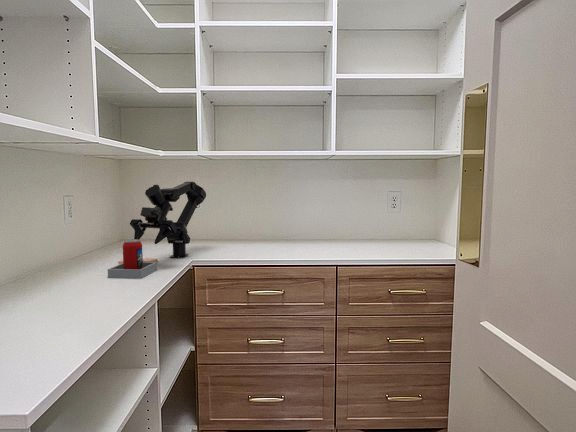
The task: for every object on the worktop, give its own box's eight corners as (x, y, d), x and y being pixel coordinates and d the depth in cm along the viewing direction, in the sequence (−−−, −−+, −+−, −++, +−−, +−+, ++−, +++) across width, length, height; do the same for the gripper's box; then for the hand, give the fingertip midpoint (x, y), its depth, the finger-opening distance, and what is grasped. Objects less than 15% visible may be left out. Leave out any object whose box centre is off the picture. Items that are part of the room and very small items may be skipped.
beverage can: (145, 272, 138) (143, 240, 137) (125, 275, 134) (124, 242, 133) (140, 268, 144) (139, 238, 142) (122, 271, 140) (120, 240, 139)
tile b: (146, 260, 162) (146, 257, 162) (157, 261, 160) (157, 258, 160) (136, 263, 156) (136, 260, 156) (148, 264, 154) (147, 261, 154)
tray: (126, 269, 146) (126, 261, 145) (157, 270, 144) (156, 262, 144) (107, 277, 133) (107, 269, 133) (141, 278, 132) (140, 270, 132)
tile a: (123, 260, 161) (123, 258, 160) (137, 260, 161) (137, 258, 161) (118, 264, 155) (118, 261, 154) (133, 263, 155) (133, 261, 155)
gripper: (131, 199, 151) (113, 230, 141) (171, 200, 146) (156, 231, 137) (144, 216, 159) (128, 246, 150) (183, 217, 154) (169, 248, 145)
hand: (144, 243), depth 145 cm, fingers open, 9 cm apart
